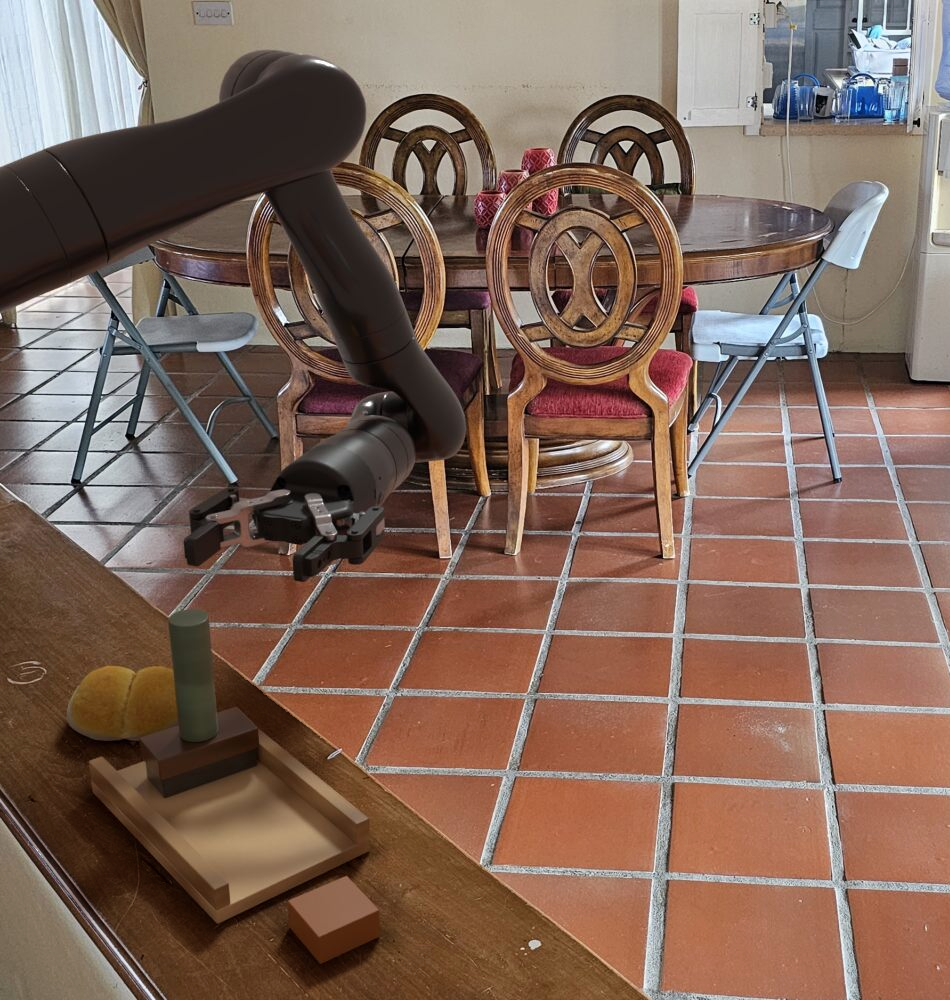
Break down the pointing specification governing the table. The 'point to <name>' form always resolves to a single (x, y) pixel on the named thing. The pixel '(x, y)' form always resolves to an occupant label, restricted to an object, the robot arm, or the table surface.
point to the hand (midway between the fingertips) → (243, 562)
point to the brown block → (333, 919)
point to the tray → (238, 828)
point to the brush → (197, 718)
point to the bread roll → (124, 703)
